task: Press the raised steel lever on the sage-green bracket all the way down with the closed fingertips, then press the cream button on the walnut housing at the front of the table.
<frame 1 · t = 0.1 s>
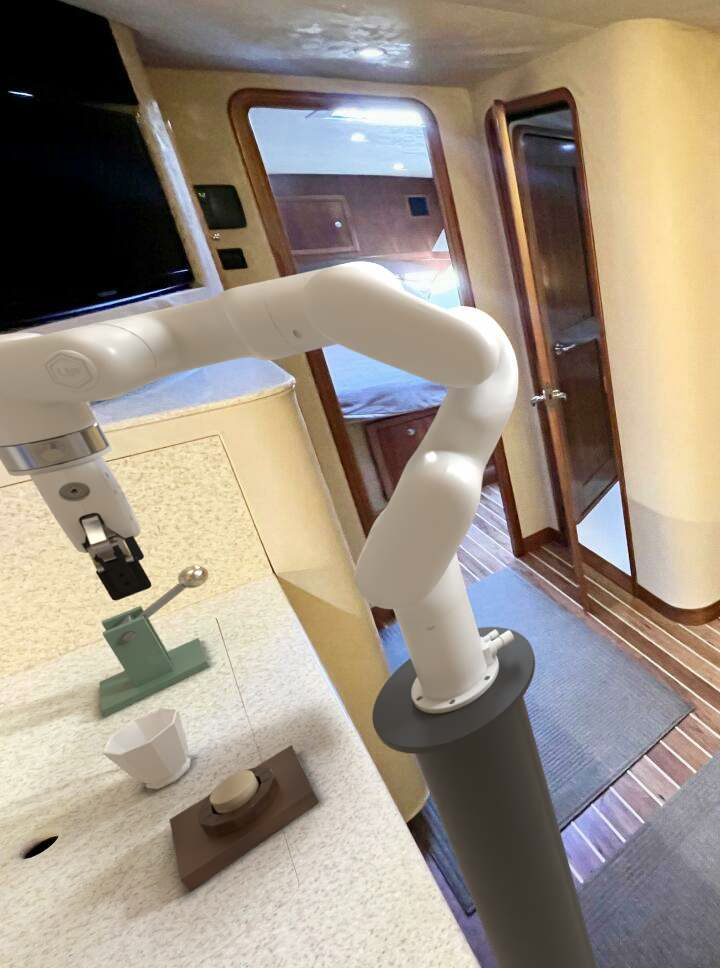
hand: (130, 577, 64), 28 cm above the counter, tool pointing down, fingers open, 9 cm apart
button box: (249, 816, 64), on the counter
bracket: (157, 676, 87), on the counter
lever: (162, 601, 86), point 12 cm above the counter, hinge at 25.0°
cup: (166, 769, 71), on the counter
button: (234, 791, 63), point 4 cm above the counter, slide at 0.1 cm
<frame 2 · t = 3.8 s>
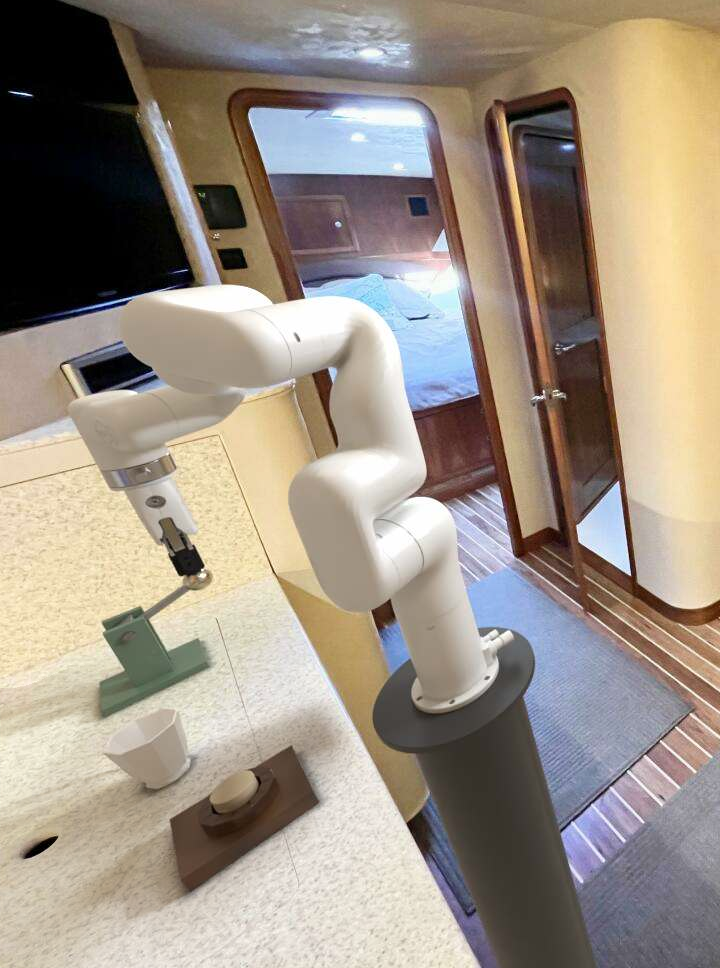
hand: (192, 570, 88), 15 cm above the counter, tool pointing down, fingers closed
lever: (165, 602, 86), point 12 cm above the counter, hinge at 20.4°, touching gripper
everything else where it was.
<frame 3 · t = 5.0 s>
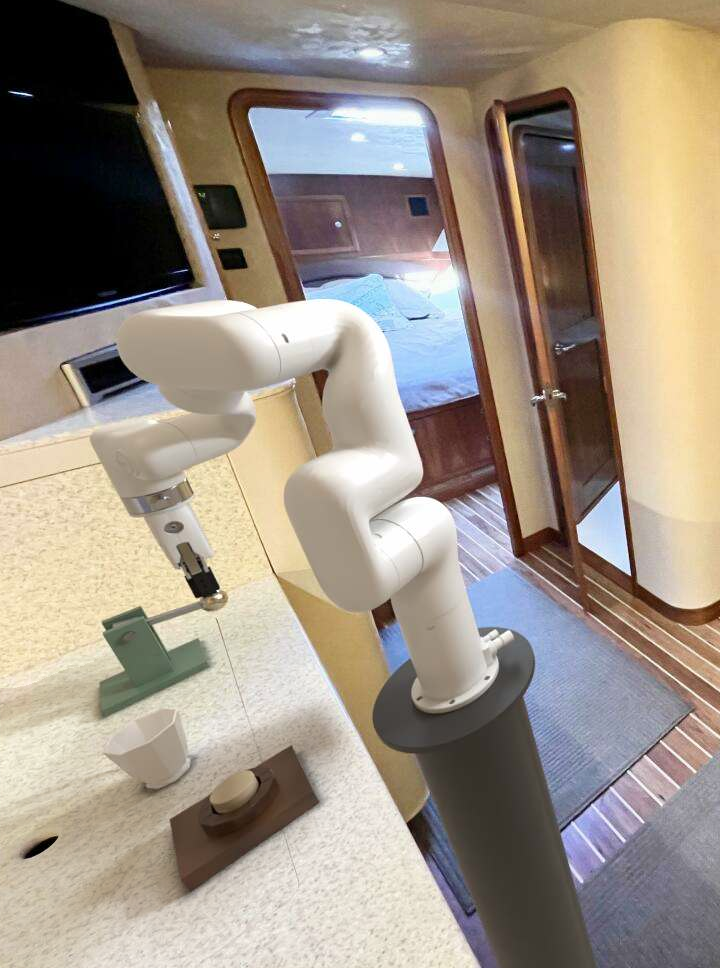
hand: (207, 592, 90), 11 cm above the counter, tool pointing down, fingers closed
lever: (174, 613, 87), point 9 cm above the counter, hinge at -7.0°, touching gripper
everything else where it was.
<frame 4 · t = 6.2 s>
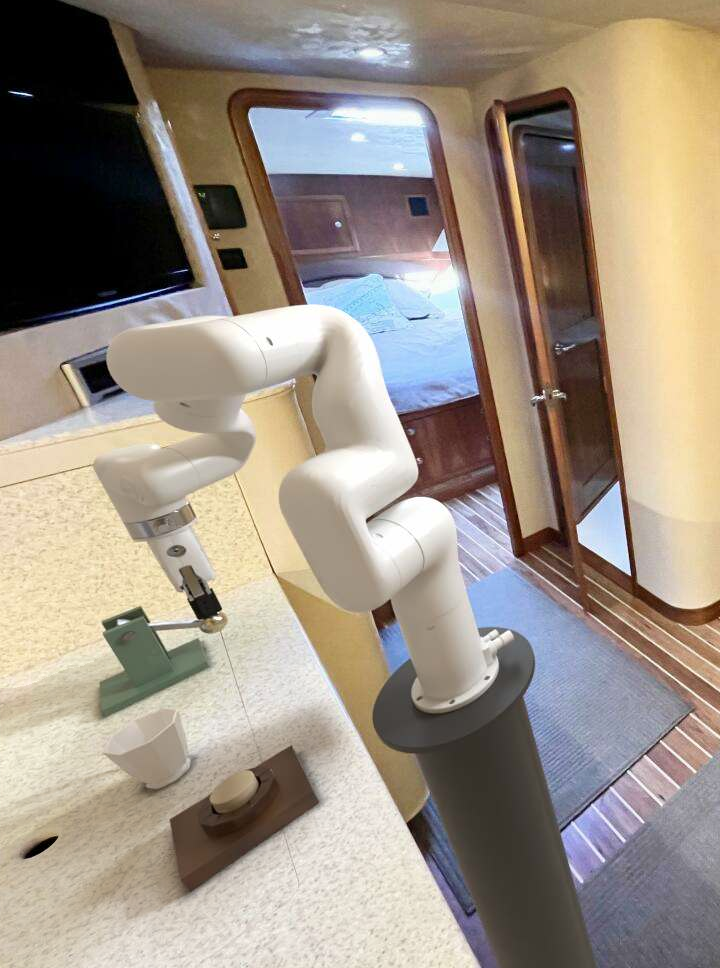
hand: (209, 613, 91), 7 cm above the counter, tool pointing down, fingers closed
lever: (174, 625, 87), point 7 cm above the counter, hinge at -30.1°, touching gripper
everything else where it was.
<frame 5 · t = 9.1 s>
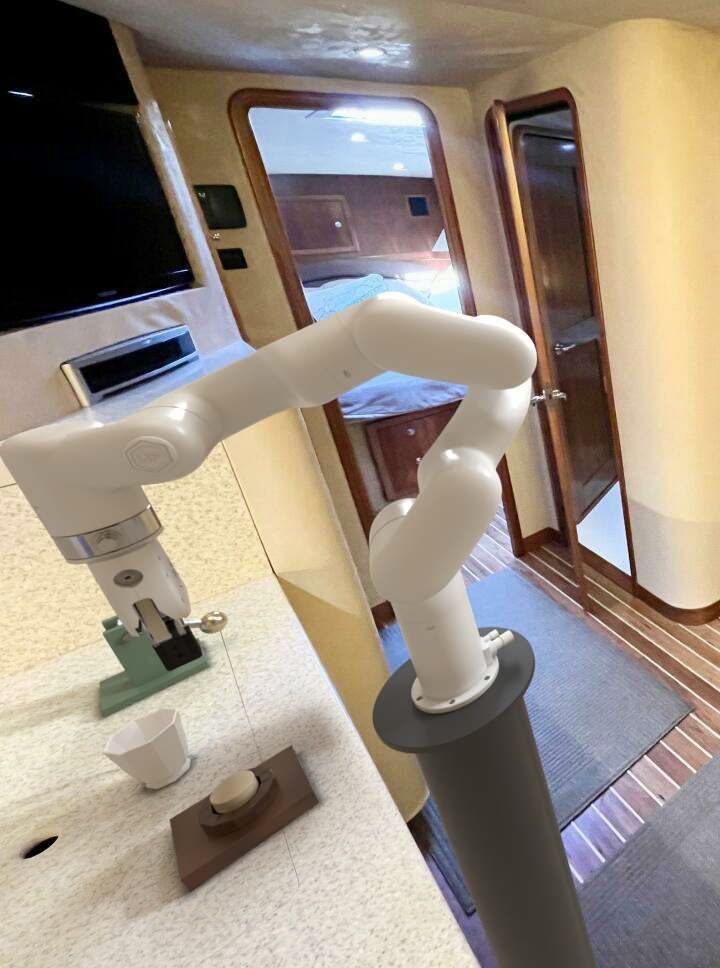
hand: (185, 660, 65), 18 cm above the counter, tool pointing down, fingers closed
lever: (174, 625, 87), point 7 cm above the counter, hinge at -30.2°
everything else where it was.
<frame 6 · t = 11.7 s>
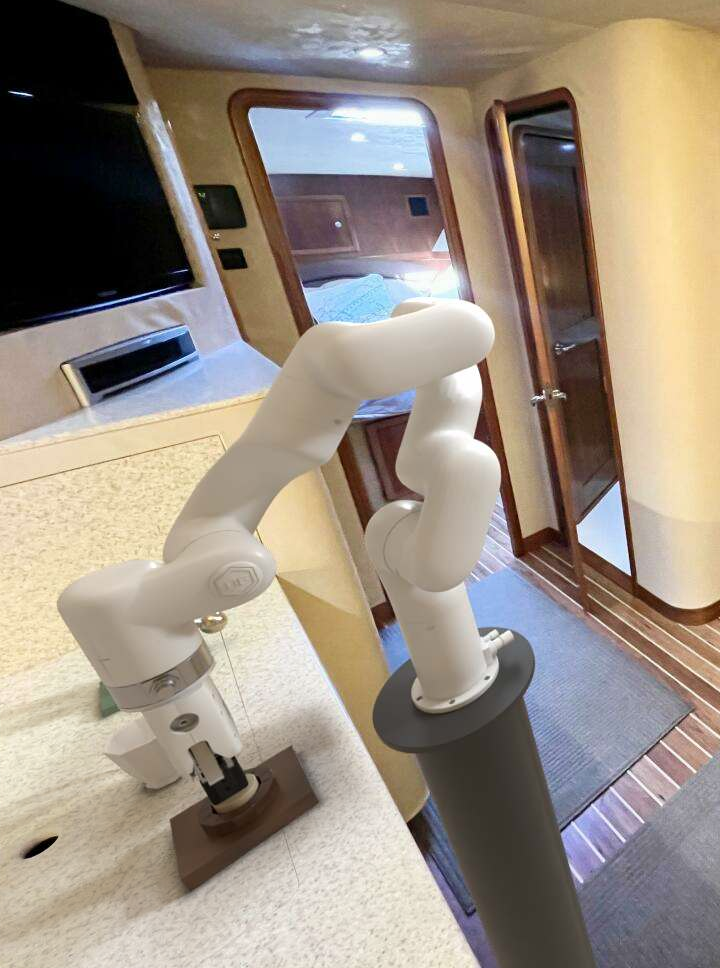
hand: (230, 791, 62), 5 cm above the counter, tool pointing down, fingers closed
button: (236, 794, 63), point 4 cm above the counter, slide at -0.5 cm, touching gripper
everything else where it was.
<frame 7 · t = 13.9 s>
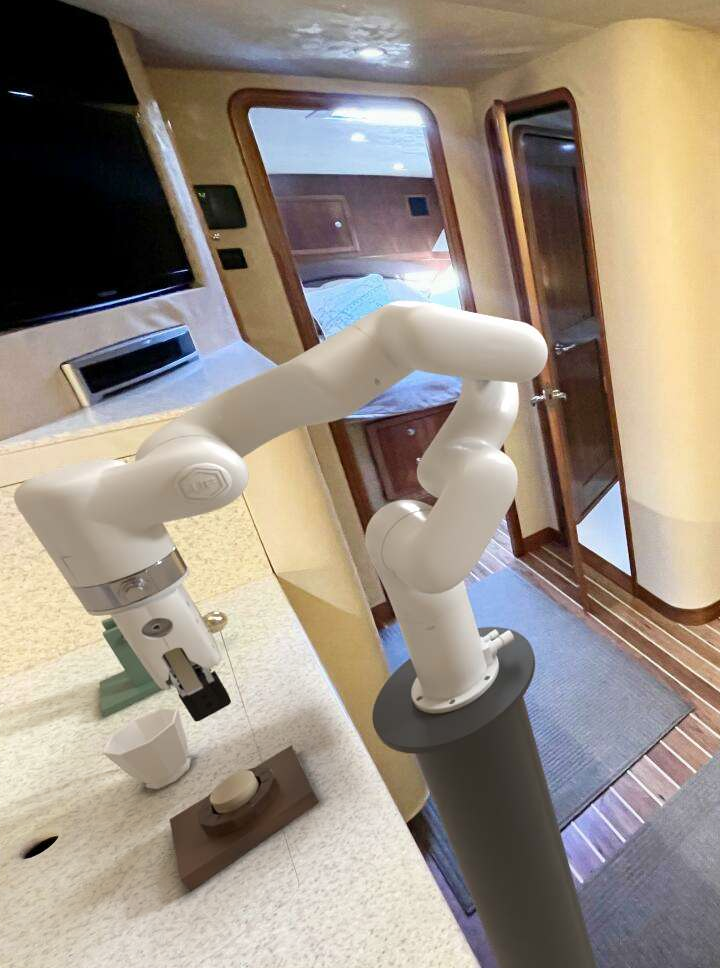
hand: (213, 709, 61), 15 cm above the counter, tool pointing down, fingers closed
button: (234, 791, 63), point 4 cm above the counter, slide at 0.1 cm
everything else where it was.
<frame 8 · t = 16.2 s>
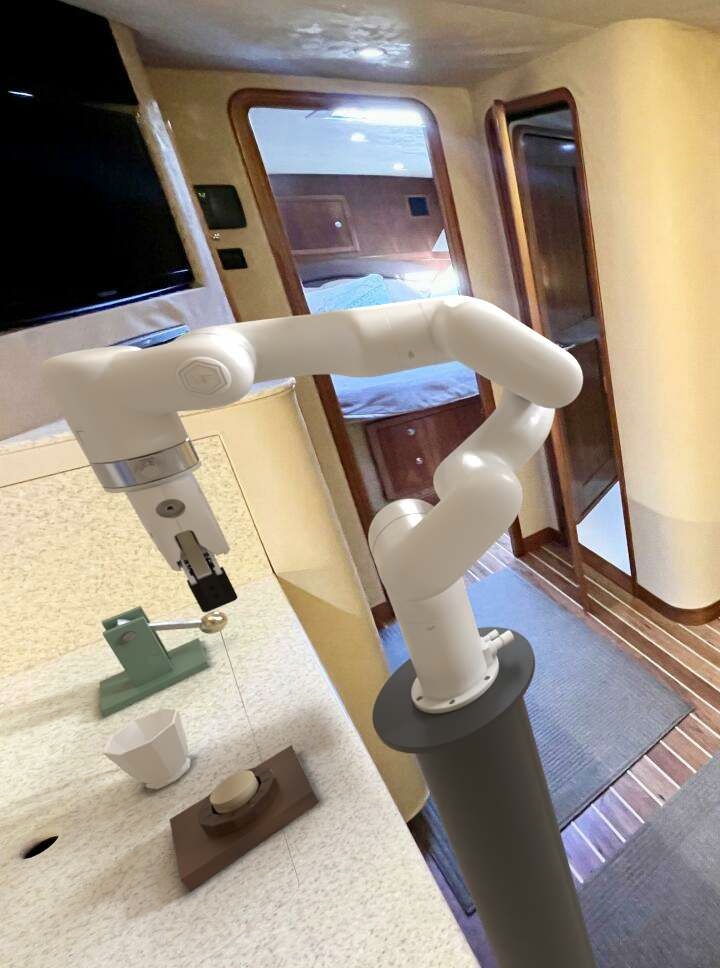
hand: (220, 603, 63), 25 cm above the counter, tool pointing down, fingers closed
nothing on the counter moved.
at the end: lever at -30° (first picture: +25°); button pushed in 1.1 cm at the most during the clip, back to where it started at the end; button slide at 0.1 cm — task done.
